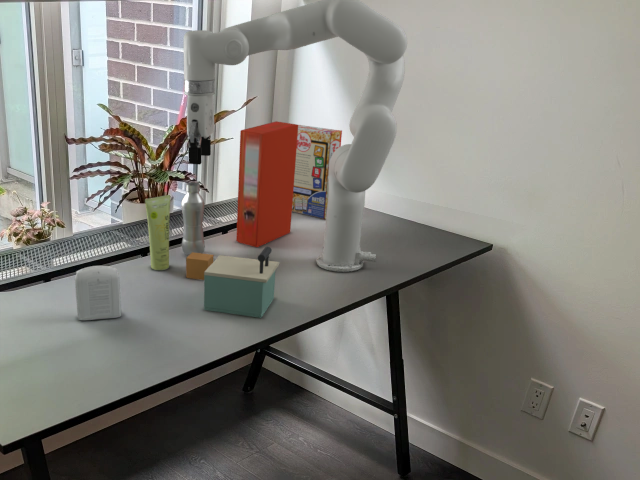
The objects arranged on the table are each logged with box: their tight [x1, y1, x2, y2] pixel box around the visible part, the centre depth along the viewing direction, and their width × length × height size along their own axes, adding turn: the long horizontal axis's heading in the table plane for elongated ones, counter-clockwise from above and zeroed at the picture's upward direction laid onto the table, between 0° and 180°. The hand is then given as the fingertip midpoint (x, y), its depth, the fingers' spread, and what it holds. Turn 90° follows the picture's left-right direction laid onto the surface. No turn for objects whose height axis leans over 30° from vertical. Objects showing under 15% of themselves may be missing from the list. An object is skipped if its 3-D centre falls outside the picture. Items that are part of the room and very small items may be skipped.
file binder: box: [235, 120, 299, 248], centre depth 212 cm, size 8×17×32 cm, turn 140°
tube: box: [144, 194, 171, 271], centre depth 193 cm, size 6×5×20 cm
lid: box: [204, 246, 280, 283], centre depth 171 cm, size 15×12×5 cm
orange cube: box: [185, 252, 215, 281], centre depth 191 cm, size 6×5×6 cm
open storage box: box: [203, 270, 276, 319], centre depth 174 cm, size 14×12×9 cm
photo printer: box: [74, 265, 122, 321], centre depth 167 cm, size 10×4×12 cm, turn 103°
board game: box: [292, 124, 343, 220], centre depth 236 cm, size 20×6×27 cm, turn 46°
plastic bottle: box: [180, 182, 206, 256], centre depth 202 cm, size 6×7×20 cm
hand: (199, 159), depth 185 cm, fingers open, 9 cm apart
